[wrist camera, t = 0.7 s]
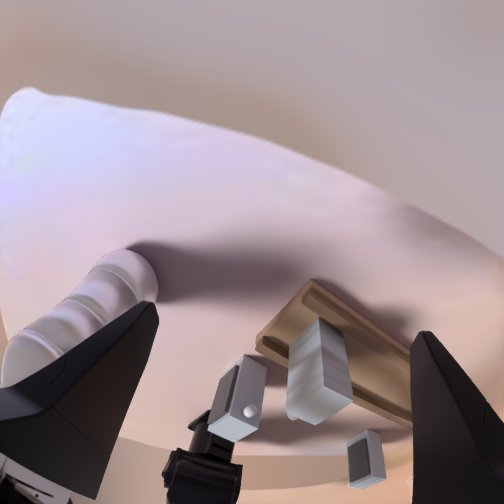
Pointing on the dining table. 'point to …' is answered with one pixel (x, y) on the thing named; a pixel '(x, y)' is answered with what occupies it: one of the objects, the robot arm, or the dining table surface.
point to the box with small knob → (238, 400)
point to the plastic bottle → (80, 313)
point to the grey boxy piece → (365, 460)
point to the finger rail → (360, 346)
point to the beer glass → (410, 487)
